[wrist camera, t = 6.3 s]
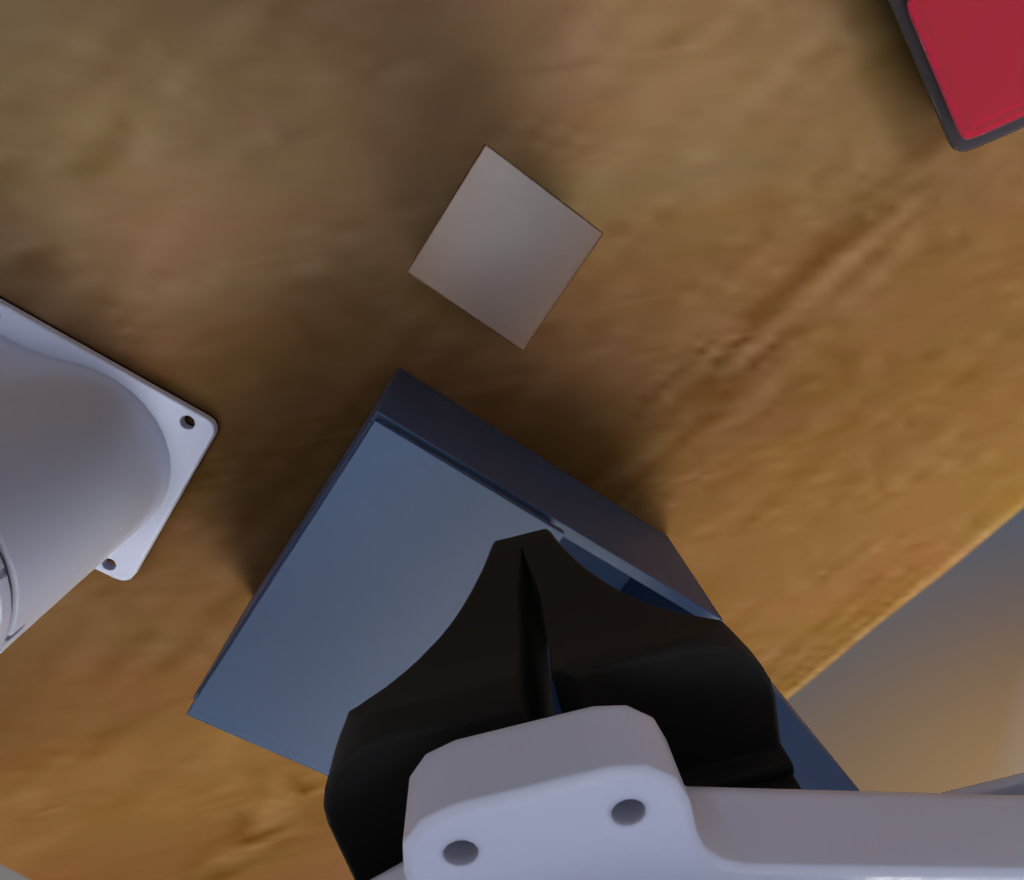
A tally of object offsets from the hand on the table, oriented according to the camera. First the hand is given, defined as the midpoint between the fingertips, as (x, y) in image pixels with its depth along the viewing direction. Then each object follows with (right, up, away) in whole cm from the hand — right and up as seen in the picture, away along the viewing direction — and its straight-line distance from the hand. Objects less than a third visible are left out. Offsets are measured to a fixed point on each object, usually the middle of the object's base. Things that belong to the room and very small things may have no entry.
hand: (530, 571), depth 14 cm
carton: (-3, -2, +12) cm, 12 cm away
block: (-1, +10, +8) cm, 13 cm away
